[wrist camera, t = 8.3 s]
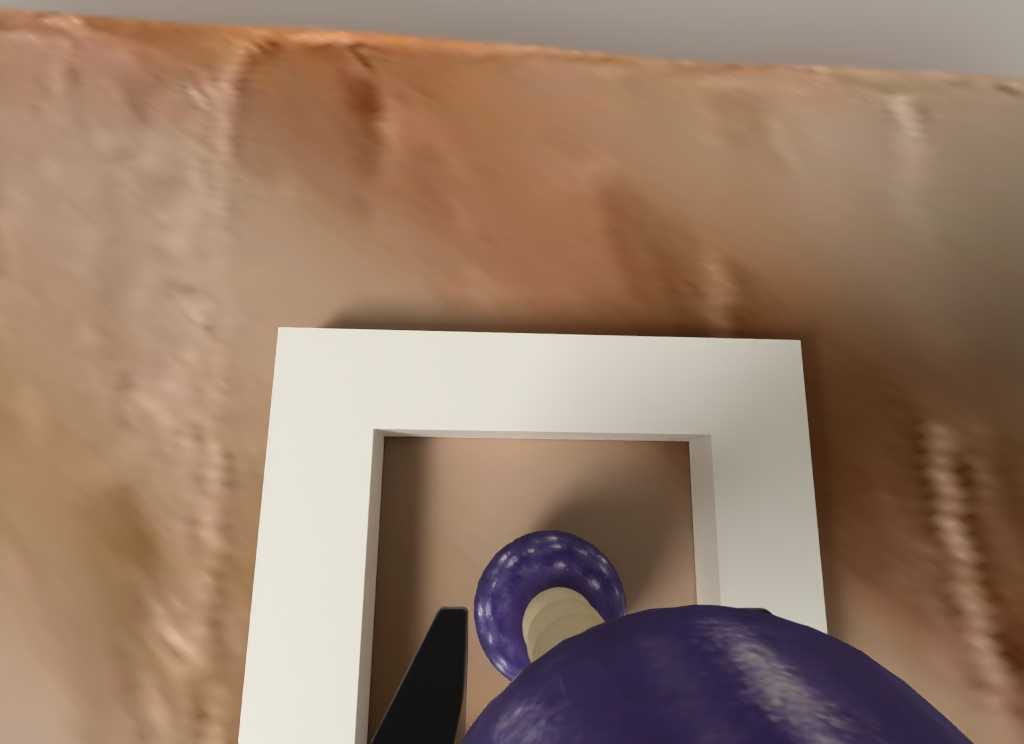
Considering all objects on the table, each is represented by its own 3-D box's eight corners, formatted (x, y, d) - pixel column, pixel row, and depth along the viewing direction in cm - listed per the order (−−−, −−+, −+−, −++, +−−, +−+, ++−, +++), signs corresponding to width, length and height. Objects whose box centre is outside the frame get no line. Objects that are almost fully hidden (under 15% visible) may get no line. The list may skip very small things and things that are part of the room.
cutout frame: (814, 895, 18) (856, 944, 16) (248, 905, 17) (217, 957, 15) (770, 355, 21) (800, 340, 19) (298, 344, 20) (278, 326, 18)
